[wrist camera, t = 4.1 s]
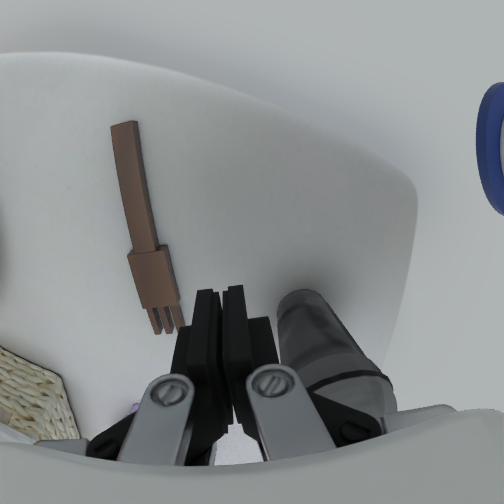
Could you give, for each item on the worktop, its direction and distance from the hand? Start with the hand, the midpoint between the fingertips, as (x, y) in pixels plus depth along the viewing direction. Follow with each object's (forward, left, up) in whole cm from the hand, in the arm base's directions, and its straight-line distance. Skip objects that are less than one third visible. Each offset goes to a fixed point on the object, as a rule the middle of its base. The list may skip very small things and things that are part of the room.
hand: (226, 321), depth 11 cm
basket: (+34, +23, -13) cm, 43 cm away
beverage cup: (-5, +9, -13) cm, 16 cm away
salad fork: (+7, -1, -13) cm, 14 cm away
